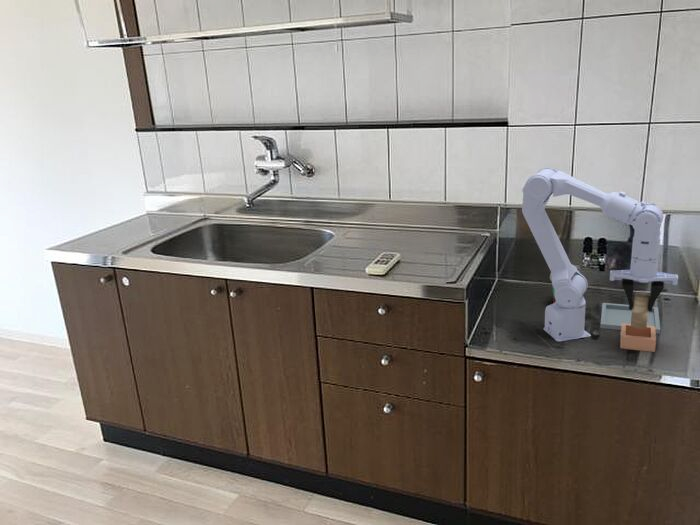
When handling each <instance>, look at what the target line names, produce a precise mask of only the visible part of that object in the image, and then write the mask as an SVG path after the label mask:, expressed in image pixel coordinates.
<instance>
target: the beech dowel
mask: <svg viewBox="0 0 700 525" xmlns="http://www.w3.org/2000/svg"><path fill="white" fill-rule="evenodd" d="M649 299H650V294H649V293H646V292H640V291H639V292H635V293H634V292H633V297H632V302H633V307H632V315H631V326H632V327H634V328H640V329H642V328H646V327H647V320H648V309H649Z"/></svg>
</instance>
